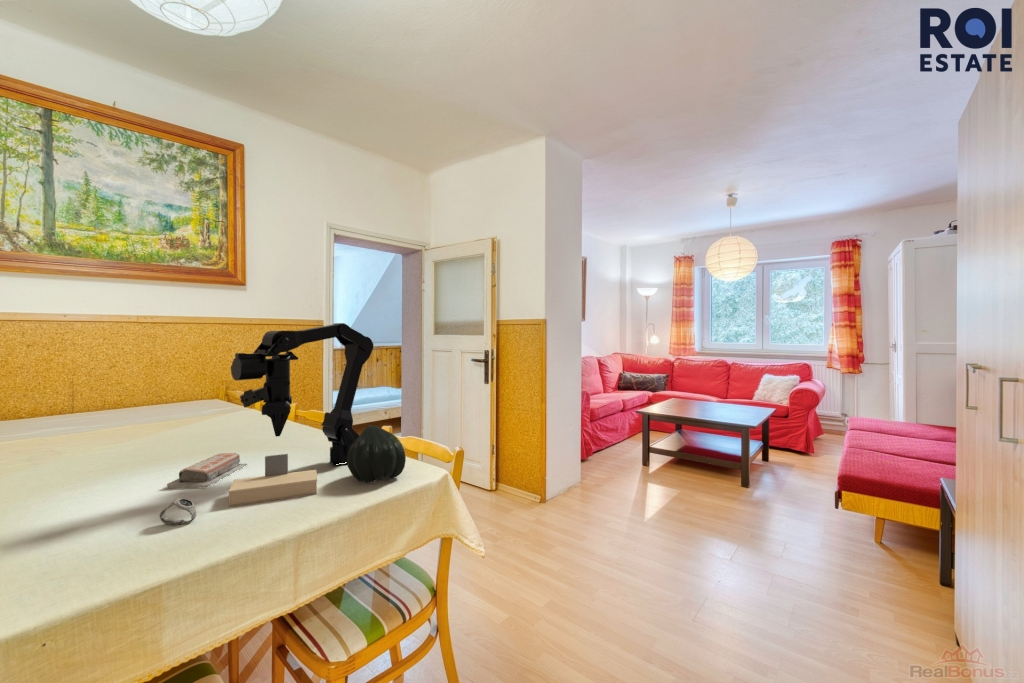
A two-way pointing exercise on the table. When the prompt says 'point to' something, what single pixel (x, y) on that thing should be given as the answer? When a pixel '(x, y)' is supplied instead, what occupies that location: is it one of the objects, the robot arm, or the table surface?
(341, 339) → the robot arm
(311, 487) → the cardboard box
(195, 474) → the packaged product
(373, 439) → the squash
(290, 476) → the lid
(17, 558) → the table surface
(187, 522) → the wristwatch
